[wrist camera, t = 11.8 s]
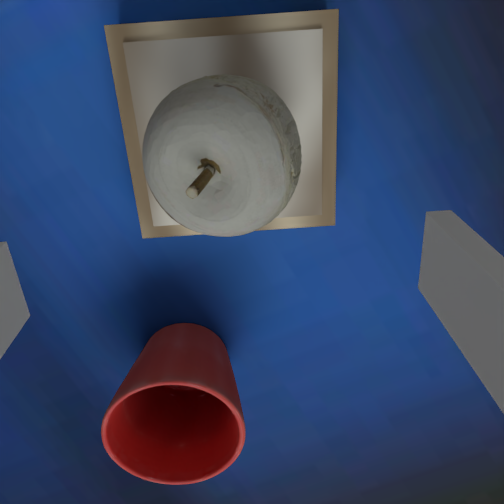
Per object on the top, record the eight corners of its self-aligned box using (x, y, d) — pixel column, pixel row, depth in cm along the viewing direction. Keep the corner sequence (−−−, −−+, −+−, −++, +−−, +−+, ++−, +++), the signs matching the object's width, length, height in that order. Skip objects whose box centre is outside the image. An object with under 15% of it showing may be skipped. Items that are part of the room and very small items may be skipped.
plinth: (151, 217, 38) (141, 240, 34) (118, 24, 32) (102, 25, 28) (325, 205, 38) (335, 226, 34) (327, 9, 32) (339, 8, 28)
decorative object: (320, 131, 31) (354, 177, 22) (232, 223, 34) (231, 297, 25) (217, 31, 28) (208, 38, 19) (130, 141, 31) (87, 191, 22)
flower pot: (110, 320, 42) (76, 399, 34) (229, 296, 42) (227, 370, 33) (147, 407, 47) (126, 496, 38) (255, 387, 46) (259, 472, 38)
